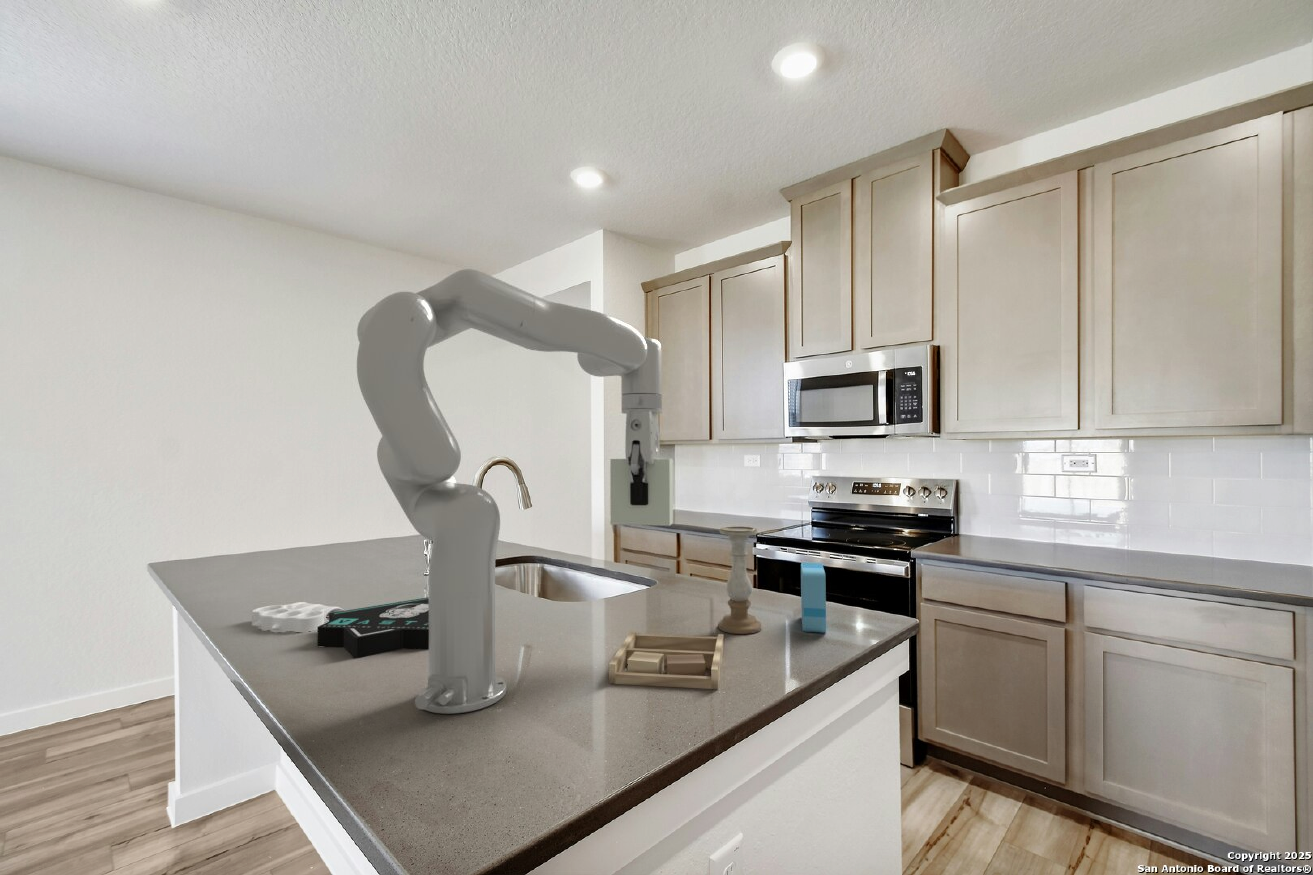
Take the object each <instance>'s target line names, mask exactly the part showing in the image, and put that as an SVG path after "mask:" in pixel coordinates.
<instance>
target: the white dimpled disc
mask: <svg viewBox="0 0 1313 875" xmlns="http://www.w3.org/2000/svg"><path fill="white" fill-rule="evenodd" d="M340 611H345V610H344V609H343V608H341V607H339V606H336V605H335V606H331V605H329V606H328V605H324V604H322V603H317V604H315V603H309V602H306V601H301V602H300V601H298V602H293V603H290V604H288V603H287V604H275V605H274V604H273V605H267V606H262V607H261V606H260V607H257V608H255V609H253V610H252V611H251V626H252V627H257V628H258V630H260V629H262V630H263V631H267V630H272V631H271V632H272V633H278V632H282V633H287V632H286V631H295V632H307V631H312V630H316V629H317V627H318V626H320V625H323V624H325V623H324V622H326V621H329V619H328V618H326V616H329V613H334V612H340ZM326 623H327V622H326ZM262 630H261V631H262ZM316 631H317V630H316ZM295 632H294V633H295ZM312 632H313V631H312ZM307 633H308V632H307Z"/></svg>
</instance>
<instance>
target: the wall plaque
mask: <svg viewBox="0 0 1313 875" xmlns="http://www.w3.org/2000/svg"><path fill="white" fill-rule="evenodd" d="M328 620H329V622H326V623H324V624H323V625H320V626H318V627H317V630H316V631H317V633H316V634H317V635H316V637H317V642H316V644H317V646H324V647H323V648H344V650H345V651H346V652H347V653H348V655H349V654H350V656H351V657H352V658H353V659H361V658H366V657H372V656H375V655H380V654H386V653H391V652H394V651H399V650H426V651H427V650H428V651H429V596H427V597H421V598H416V599H411V600H404V601H396V602H393V603H392V602H391V603H385V604H379V605H372V606H365V607H361V608H360V607H359V608H352V609H348V610H344V611H340V612H334V613H329V618H328ZM317 646H316V647H317Z"/></svg>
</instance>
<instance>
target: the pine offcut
mask: <svg viewBox="0 0 1313 875" xmlns="http://www.w3.org/2000/svg"><path fill="white" fill-rule="evenodd" d="M664 671H665V666H664V654H657V653H645V652H634V653H633V654H632V655H631V656H630V658H629V659H628V665H627V672H631V673H650V674H664Z"/></svg>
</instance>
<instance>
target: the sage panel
mask: <svg viewBox="0 0 1313 875" xmlns="http://www.w3.org/2000/svg"><path fill="white" fill-rule="evenodd" d="M609 460H610V465H609V466H610V468H609V469H610V470H609V471H610V472H609V473H610V478H609V479H610V482H609V484H610V485H609V486H610V489H609V490H610V500H609V501H610V513H609V515H610V520H609V521H610V522H609V523H610V525H615V526H616V525H617V526H619V525H620V526H621V525H623V526H624V525H625V526H667V527H668V526H669V527H670V526H671V525H673V523H674V469H673V468H674V462H673V461H674V459H673V458H660V459H655V464H654V465H653V466H649V464H648V462H647V478H646V483H648V504H647V505H631V504H630V483H631V481H630V478H631V466H629V465H628V464H627V463H626V458H610V459H609ZM629 461H631V459H629ZM629 464H630V465H631V462H630V463H629ZM639 465H644V462H639ZM642 471H643V469H642ZM642 474H643V473H642Z"/></svg>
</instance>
